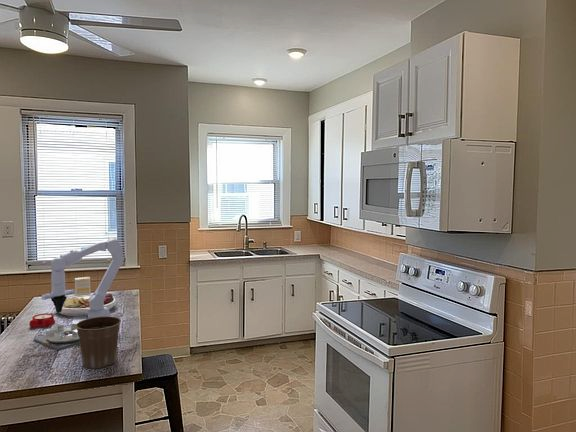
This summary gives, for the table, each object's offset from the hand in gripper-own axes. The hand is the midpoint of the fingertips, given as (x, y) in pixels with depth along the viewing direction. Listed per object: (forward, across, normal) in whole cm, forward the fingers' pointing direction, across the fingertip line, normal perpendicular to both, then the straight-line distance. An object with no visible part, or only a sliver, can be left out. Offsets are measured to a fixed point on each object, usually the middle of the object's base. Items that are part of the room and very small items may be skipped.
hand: (58, 311), depth 206 cm
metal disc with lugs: (+8, +3, +13) cm, 16 cm away
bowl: (+10, -28, -24) cm, 38 cm away
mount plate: (+9, +3, +13) cm, 16 cm away
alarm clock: (+10, 0, -16) cm, 19 cm away
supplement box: (+10, -39, -46) cm, 61 cm away
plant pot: (+10, +10, +48) cm, 50 cm away
